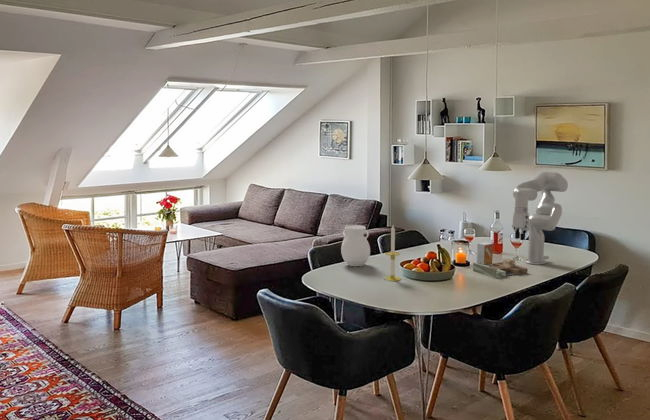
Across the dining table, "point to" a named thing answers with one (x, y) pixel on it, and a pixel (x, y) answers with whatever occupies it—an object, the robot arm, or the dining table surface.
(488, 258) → the small box
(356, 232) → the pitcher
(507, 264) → the maple cube
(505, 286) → the dining table surface
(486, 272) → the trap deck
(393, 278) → the candle
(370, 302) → the dining table surface
